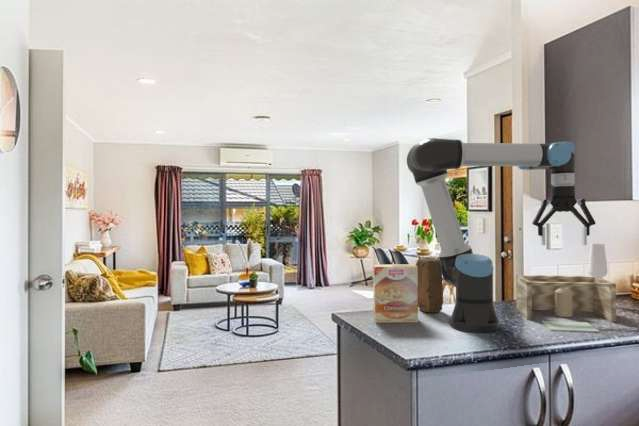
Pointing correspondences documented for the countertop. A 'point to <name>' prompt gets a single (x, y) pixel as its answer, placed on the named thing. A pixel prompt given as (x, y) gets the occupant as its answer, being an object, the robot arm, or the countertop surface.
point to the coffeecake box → (395, 293)
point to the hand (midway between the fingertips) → (563, 245)
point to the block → (430, 285)
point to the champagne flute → (597, 260)
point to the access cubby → (585, 290)
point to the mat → (569, 326)
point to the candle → (563, 302)
